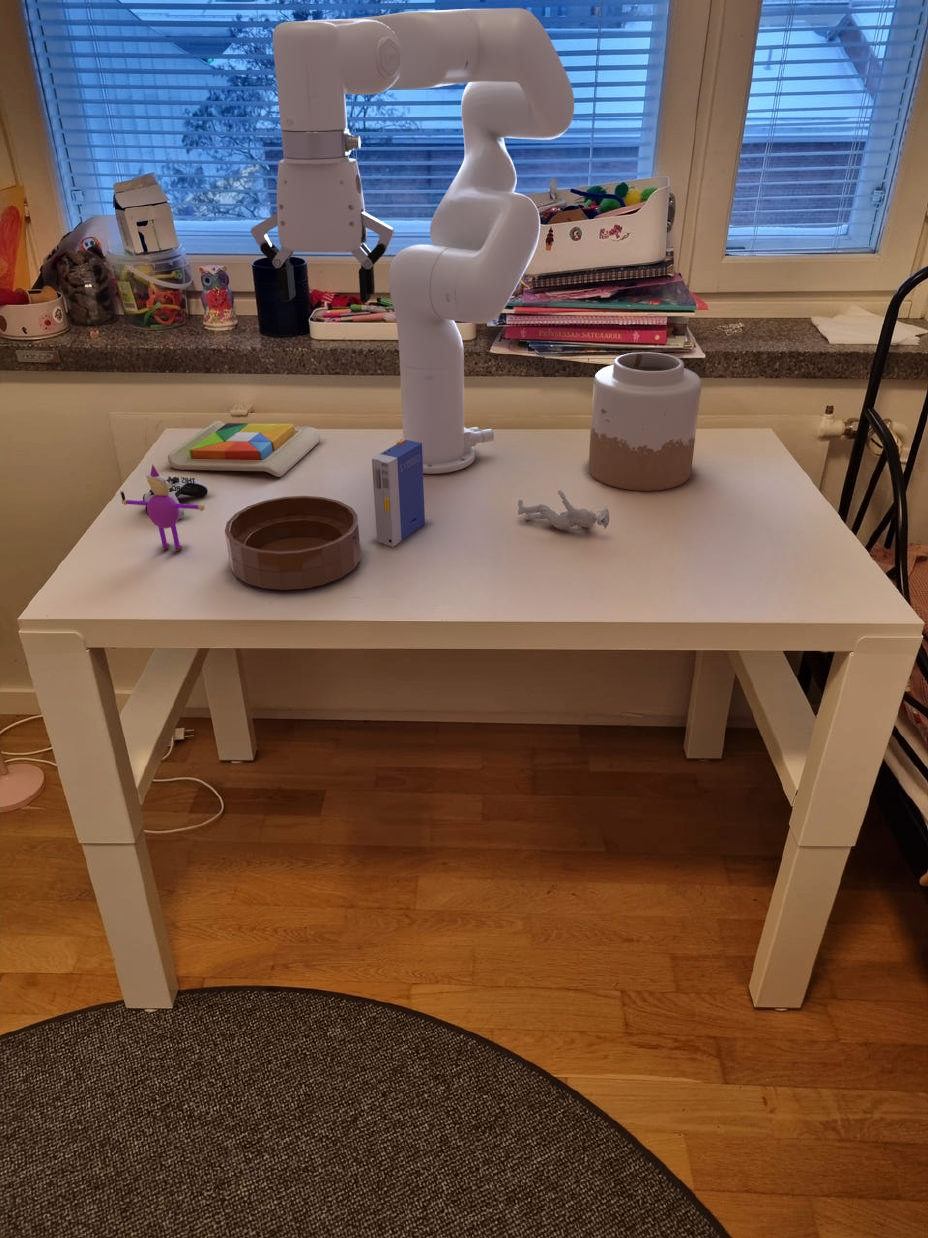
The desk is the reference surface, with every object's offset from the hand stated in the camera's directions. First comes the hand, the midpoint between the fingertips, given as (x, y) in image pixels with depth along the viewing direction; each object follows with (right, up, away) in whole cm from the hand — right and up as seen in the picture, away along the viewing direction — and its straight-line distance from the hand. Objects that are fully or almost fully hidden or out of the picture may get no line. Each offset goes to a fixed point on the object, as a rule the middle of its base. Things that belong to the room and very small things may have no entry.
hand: (327, 299), depth 120 cm
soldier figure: (+30, -28, +10) cm, 42 cm away
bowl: (-4, -33, +2) cm, 33 cm away
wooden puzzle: (-18, -14, +34) cm, 40 cm away
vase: (+43, -18, +26) cm, 54 cm away
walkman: (+9, -28, +9) cm, 31 cm away
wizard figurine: (-21, -31, +5) cm, 38 cm away
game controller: (-24, -24, +17) cm, 38 cm away
